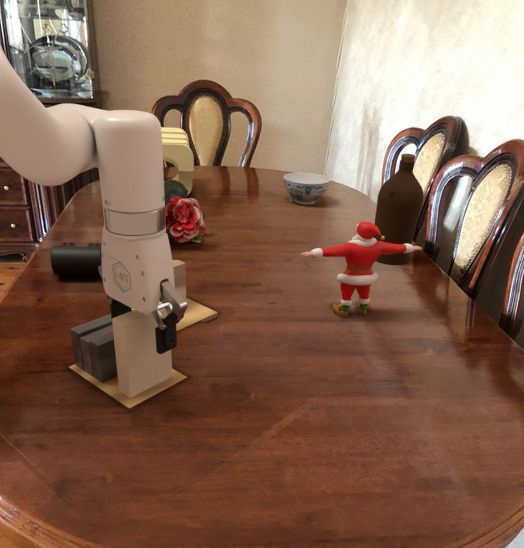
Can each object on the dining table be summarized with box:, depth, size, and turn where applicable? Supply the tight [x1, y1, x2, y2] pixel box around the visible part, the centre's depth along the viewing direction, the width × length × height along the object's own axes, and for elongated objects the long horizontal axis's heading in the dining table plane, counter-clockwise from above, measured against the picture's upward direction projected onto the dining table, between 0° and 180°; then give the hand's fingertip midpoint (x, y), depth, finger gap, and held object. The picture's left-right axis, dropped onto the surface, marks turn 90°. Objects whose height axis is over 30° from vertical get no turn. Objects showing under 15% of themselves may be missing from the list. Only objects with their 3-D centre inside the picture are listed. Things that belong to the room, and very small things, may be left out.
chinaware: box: [283, 172, 331, 206], centre depth 172 cm, size 15×15×8 cm
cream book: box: [112, 302, 173, 398], centre depth 76 cm, size 3×8×12 cm, turn 140°
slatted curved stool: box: [161, 126, 195, 196], centre depth 169 cm, size 30×16×18 cm, turn 10°
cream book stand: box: [132, 258, 219, 332], centre depth 98 cm, size 15×11×9 cm
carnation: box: [164, 179, 207, 244], centre depth 139 cm, size 16×18×35 cm
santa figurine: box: [300, 221, 423, 318], centre depth 100 cm, size 25×6×19 cm, turn 107°
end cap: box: [50, 241, 102, 278], centre depth 111 cm, size 10×7×7 cm
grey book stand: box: [68, 313, 188, 409], centre depth 80 cm, size 15×11×8 cm
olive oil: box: [373, 153, 424, 265], centre depth 127 cm, size 11×11×25 cm
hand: (144, 337), depth 75 cm, fingers open, 9 cm apart
